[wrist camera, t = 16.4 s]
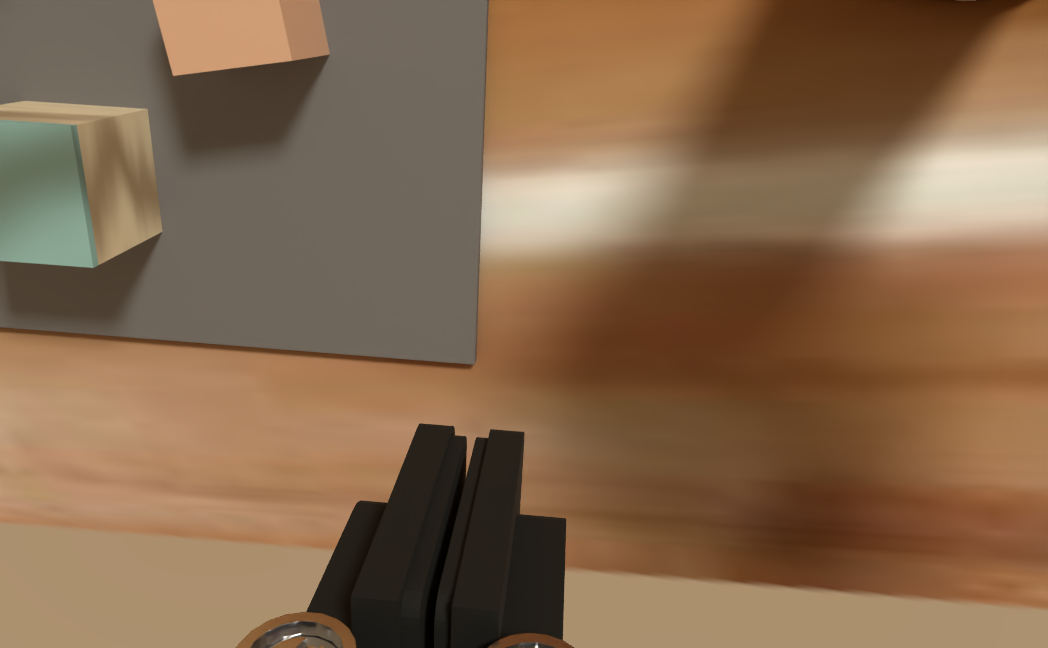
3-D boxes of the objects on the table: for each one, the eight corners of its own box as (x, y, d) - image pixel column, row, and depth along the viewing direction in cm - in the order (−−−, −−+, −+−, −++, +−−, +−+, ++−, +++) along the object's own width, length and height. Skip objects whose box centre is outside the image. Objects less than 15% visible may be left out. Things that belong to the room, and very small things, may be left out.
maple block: (70, 126, 31) (147, 109, 37) (-73, 116, 32) (24, 100, 37) (93, 267, 34) (162, 231, 39) (-41, 257, 34) (46, 223, 39)
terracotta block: (196, -52, 34) (135, -61, 30) (305, -68, 34) (261, -80, 29) (225, 67, 36) (173, 75, 31) (329, 54, 35) (292, 60, 31)
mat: (-118, -44, 36) (-129, -45, 35) (488, -9, 35) (487, -9, 34) (-34, 319, 43) (-42, 323, 42) (476, 360, 41) (474, 364, 41)
